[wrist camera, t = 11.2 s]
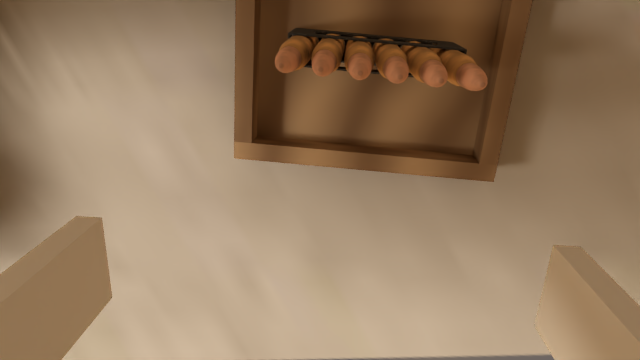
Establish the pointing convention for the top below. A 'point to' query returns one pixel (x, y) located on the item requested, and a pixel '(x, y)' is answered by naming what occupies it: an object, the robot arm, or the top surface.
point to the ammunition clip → (380, 58)
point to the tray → (377, 88)
